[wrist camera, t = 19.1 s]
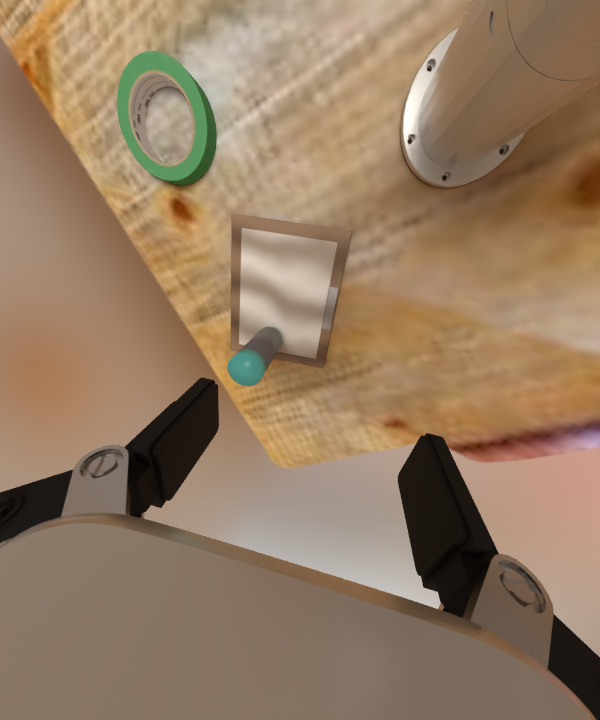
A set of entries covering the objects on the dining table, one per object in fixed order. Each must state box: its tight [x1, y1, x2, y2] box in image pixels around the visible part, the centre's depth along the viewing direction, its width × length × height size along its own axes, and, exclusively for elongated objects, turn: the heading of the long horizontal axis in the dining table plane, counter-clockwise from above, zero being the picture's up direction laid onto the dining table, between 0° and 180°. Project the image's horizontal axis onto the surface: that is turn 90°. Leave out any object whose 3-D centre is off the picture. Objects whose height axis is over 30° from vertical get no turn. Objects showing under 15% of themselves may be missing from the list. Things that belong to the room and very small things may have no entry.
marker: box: [228, 327, 282, 386], centre depth 32 cm, size 4×4×12 cm
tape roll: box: [117, 51, 216, 185], centre depth 28 cm, size 11×11×3 cm
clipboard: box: [231, 214, 352, 368], centre depth 34 cm, size 20×16×2 cm
